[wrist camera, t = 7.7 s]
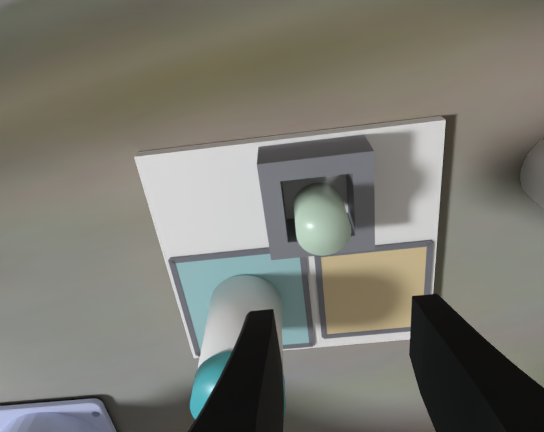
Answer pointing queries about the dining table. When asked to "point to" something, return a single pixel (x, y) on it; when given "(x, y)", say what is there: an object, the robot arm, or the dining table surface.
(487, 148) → the dining table surface
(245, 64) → the dining table surface
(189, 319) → the picture board
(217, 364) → the jar with teal lid
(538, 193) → the jar with tan lid
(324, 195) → the button
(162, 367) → the dining table surface
